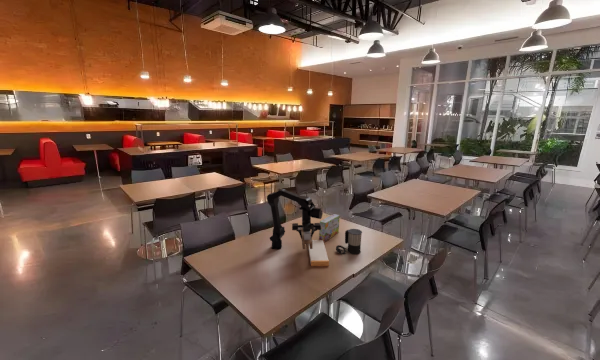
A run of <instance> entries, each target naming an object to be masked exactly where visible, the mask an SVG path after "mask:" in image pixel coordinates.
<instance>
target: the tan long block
mask: <svg viewBox="0 0 600 360" xmlns="http://www.w3.org/2000/svg"><path fill="white" fill-rule="evenodd" d="M310 233H311V231H310ZM301 234H302V239H301V246H302V250H305V249H306V250H309V246H310V249H312V242H313V241H312V240H313V236H312V237H311V240H304V231H303V228H301Z"/></svg>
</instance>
